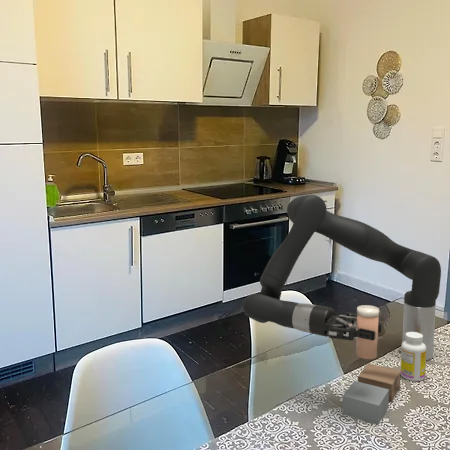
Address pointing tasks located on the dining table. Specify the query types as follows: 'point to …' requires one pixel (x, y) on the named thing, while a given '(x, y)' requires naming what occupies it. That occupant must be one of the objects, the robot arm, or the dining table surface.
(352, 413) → the stand
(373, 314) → the canister
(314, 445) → the dining table surface
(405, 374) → the supplement bottle
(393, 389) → the stand
